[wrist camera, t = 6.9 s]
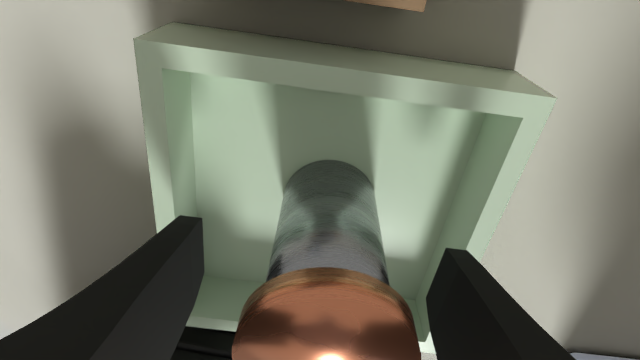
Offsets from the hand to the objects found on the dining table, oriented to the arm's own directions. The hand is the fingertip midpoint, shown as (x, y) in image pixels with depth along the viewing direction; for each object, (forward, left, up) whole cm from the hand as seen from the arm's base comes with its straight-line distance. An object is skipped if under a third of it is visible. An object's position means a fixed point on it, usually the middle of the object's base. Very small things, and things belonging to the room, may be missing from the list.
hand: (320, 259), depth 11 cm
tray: (0, 0, -4) cm, 4 cm away
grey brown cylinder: (0, 0, -3) cm, 3 cm away
